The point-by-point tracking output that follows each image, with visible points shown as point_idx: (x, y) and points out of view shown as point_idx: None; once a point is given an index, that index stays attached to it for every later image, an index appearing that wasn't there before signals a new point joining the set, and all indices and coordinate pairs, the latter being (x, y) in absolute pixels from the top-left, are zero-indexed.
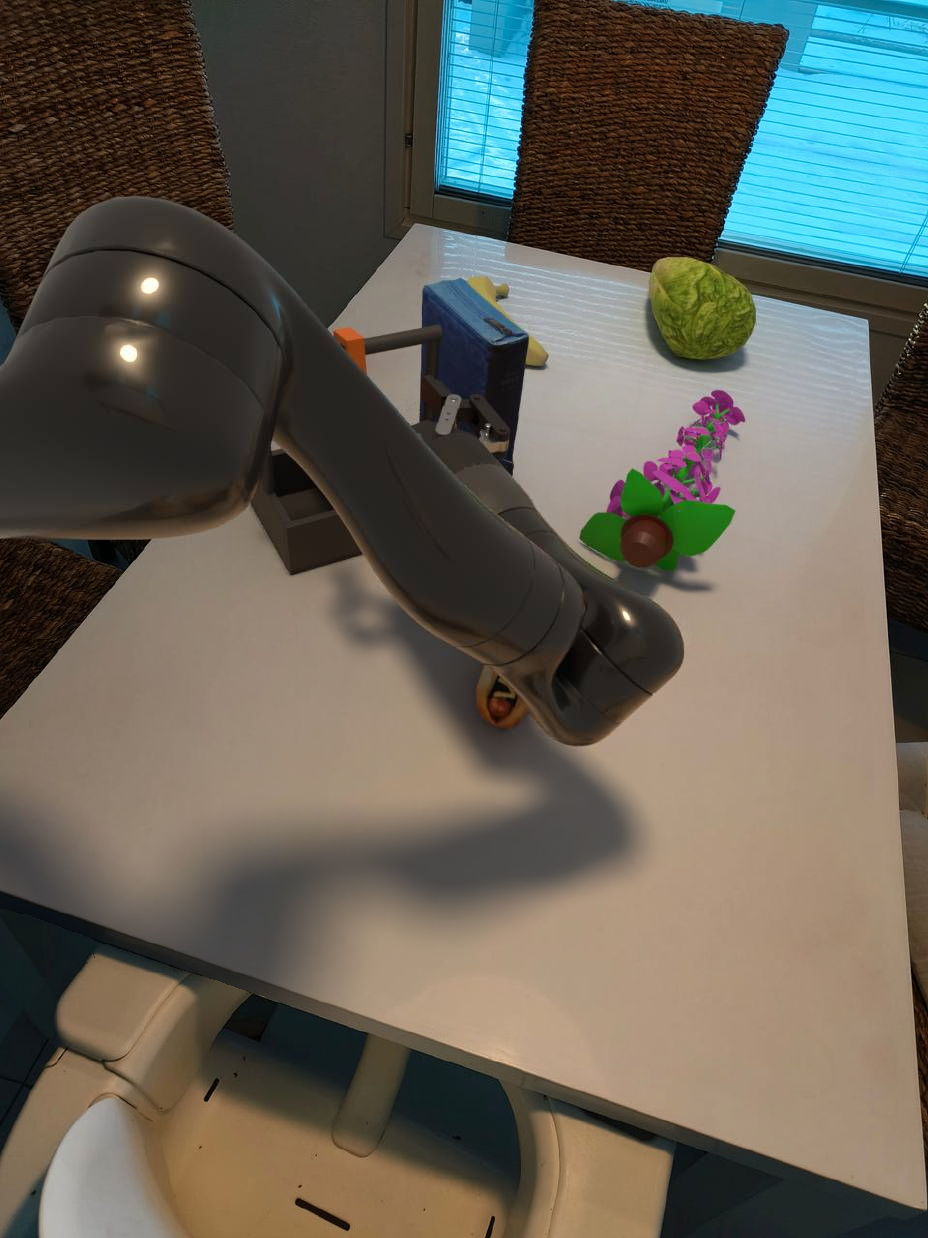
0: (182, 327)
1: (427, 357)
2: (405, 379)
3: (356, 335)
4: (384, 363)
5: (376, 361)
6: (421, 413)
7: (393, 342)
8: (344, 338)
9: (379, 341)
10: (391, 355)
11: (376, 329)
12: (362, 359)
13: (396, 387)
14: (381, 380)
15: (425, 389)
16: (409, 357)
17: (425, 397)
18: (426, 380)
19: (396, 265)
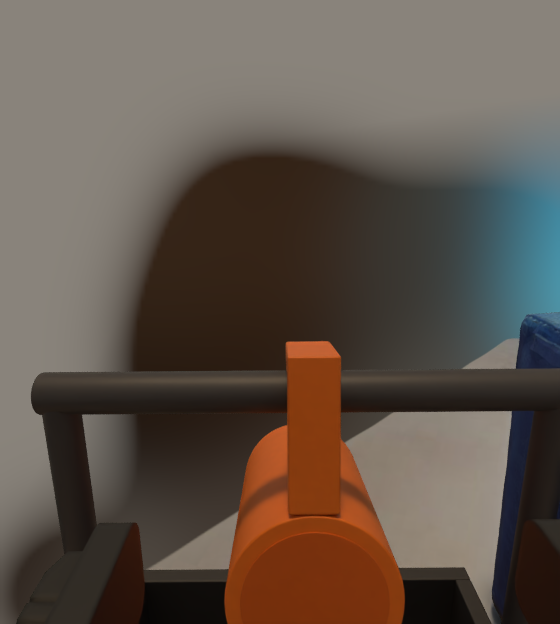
0: None
1: (534, 450)
2: (477, 480)
3: (325, 352)
4: (450, 453)
5: (439, 448)
6: (500, 557)
7: (435, 391)
8: (287, 353)
9: (394, 381)
10: (461, 444)
11: (447, 413)
12: (330, 418)
13: (462, 489)
14: (441, 474)
15: (541, 582)
16: (486, 451)
17: (538, 616)
18: (551, 546)
19: (480, 360)
